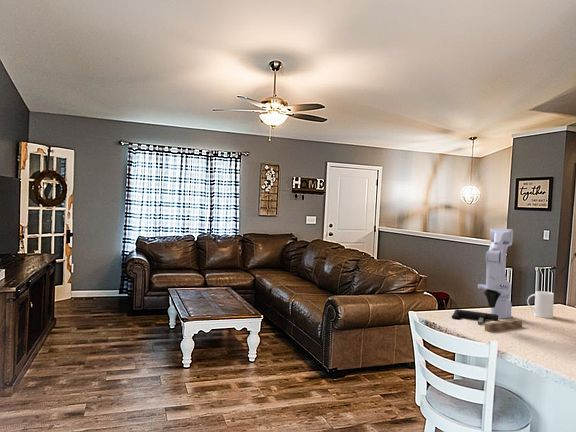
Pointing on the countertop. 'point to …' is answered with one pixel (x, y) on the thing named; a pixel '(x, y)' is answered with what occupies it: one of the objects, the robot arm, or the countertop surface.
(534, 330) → the countertop surface
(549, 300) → the mug
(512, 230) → the robot arm
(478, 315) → the door handle
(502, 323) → the bar
